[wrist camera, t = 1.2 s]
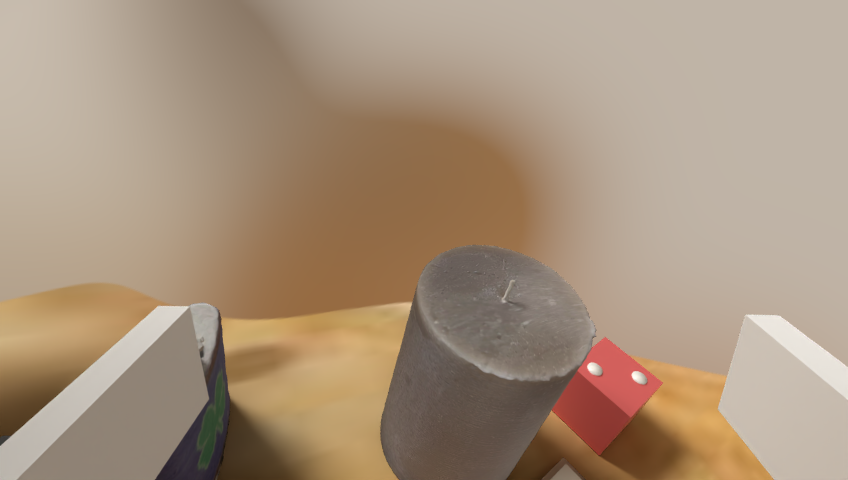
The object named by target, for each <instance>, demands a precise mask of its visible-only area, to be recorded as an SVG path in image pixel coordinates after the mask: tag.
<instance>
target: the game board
mask: <svg viewBox="0 0 848 480" xmlns="http://www.w3.org/2000/svg"><path fill="white" fill-rule="evenodd" d="M541 480H586V479H585V478H584V477H583V476H582V475H581V474H580V473H579V472H578V471H577V470H576V469H575V468H574V467H573V466H572V465H571V464H570V463H569V462H568V461H567V460H566V459H565V458H564V457H563V458H562V459H561V460H560V461H559V462H558V463H557V464H556V465H555V466H554V467H553V468H552V469H551V470H550V471H549V472H548V473H547V474H546V475H545V476H544V477H543V478H542V479H541Z"/></svg>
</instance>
